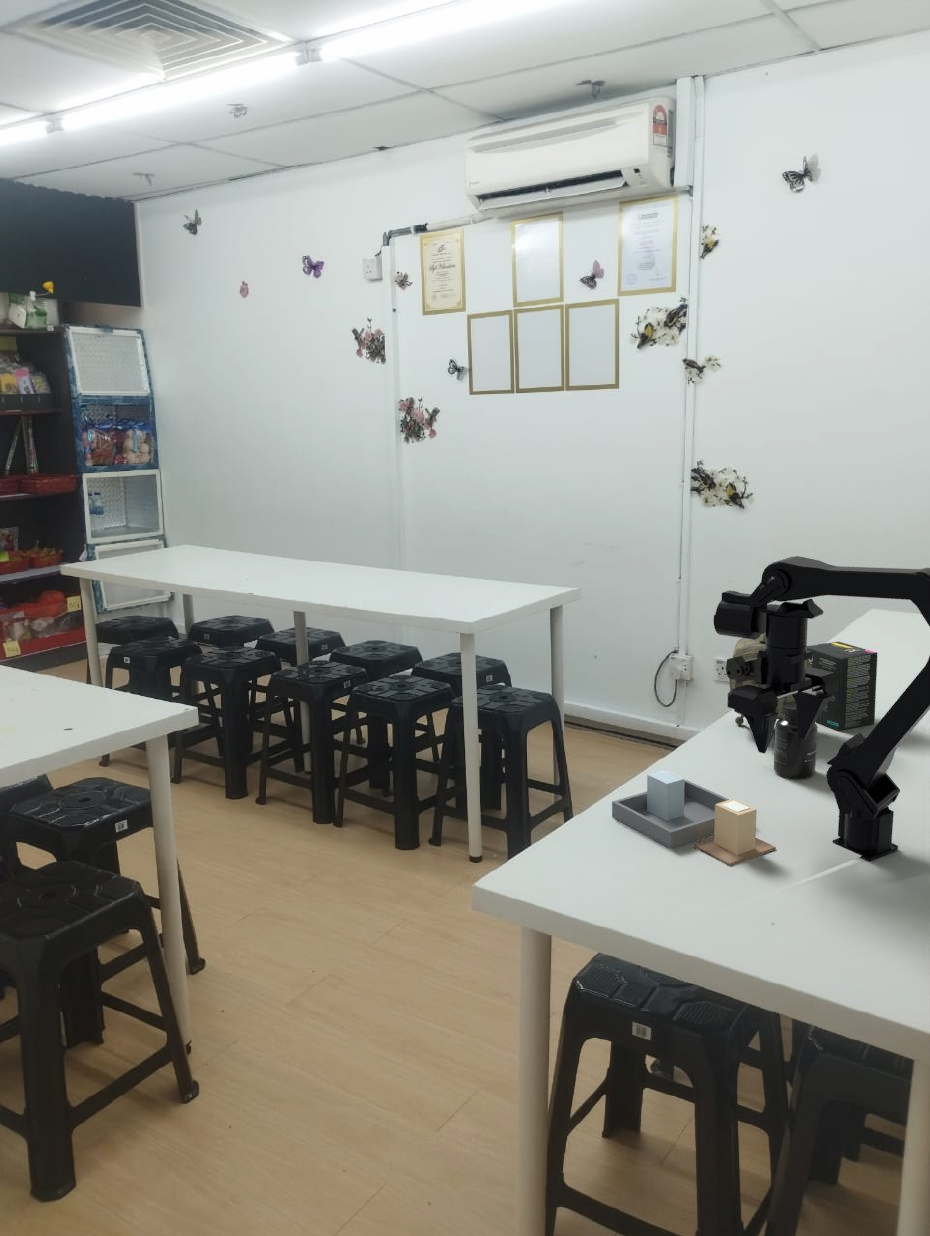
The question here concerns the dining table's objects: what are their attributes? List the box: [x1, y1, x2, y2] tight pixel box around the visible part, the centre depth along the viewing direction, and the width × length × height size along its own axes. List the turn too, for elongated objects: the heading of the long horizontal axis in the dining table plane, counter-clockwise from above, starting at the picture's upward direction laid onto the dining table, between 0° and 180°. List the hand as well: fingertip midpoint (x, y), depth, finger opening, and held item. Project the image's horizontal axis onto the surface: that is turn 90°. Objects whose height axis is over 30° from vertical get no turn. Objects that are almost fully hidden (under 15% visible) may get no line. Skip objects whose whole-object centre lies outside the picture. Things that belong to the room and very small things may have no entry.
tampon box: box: [807, 641, 878, 731], centre depth 190 cm, size 11×9×15 cm
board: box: [693, 837, 777, 867], centre depth 139 cm, size 7×9×1 cm
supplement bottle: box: [773, 702, 818, 780], centre depth 165 cm, size 7×7×12 cm
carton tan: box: [713, 798, 757, 855], centre depth 138 cm, size 4×4×6 cm
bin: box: [611, 779, 731, 850], centre depth 148 cm, size 13×15×3 cm
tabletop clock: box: [728, 603, 810, 726], centre depth 184 cm, size 14×9×25 cm, turn 72°
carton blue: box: [646, 769, 685, 821], centre depth 150 cm, size 4×4×6 cm
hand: (782, 745), depth 144 cm, fingers open, 9 cm apart
